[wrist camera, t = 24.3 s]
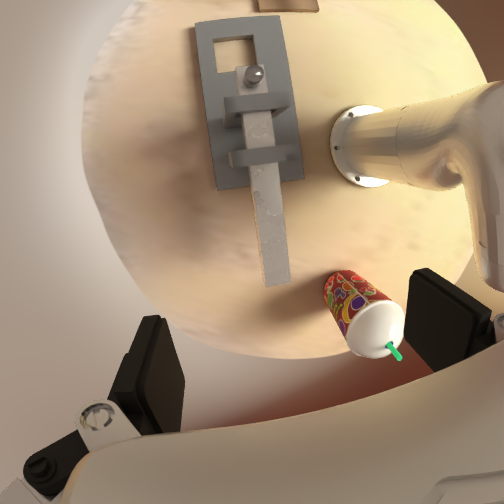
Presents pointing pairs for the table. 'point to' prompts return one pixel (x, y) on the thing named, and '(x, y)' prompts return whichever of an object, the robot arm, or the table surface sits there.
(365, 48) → the table surface
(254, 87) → the bolt
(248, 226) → the table surface
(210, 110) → the socket block
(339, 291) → the smoothie
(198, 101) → the table surface
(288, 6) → the pad
